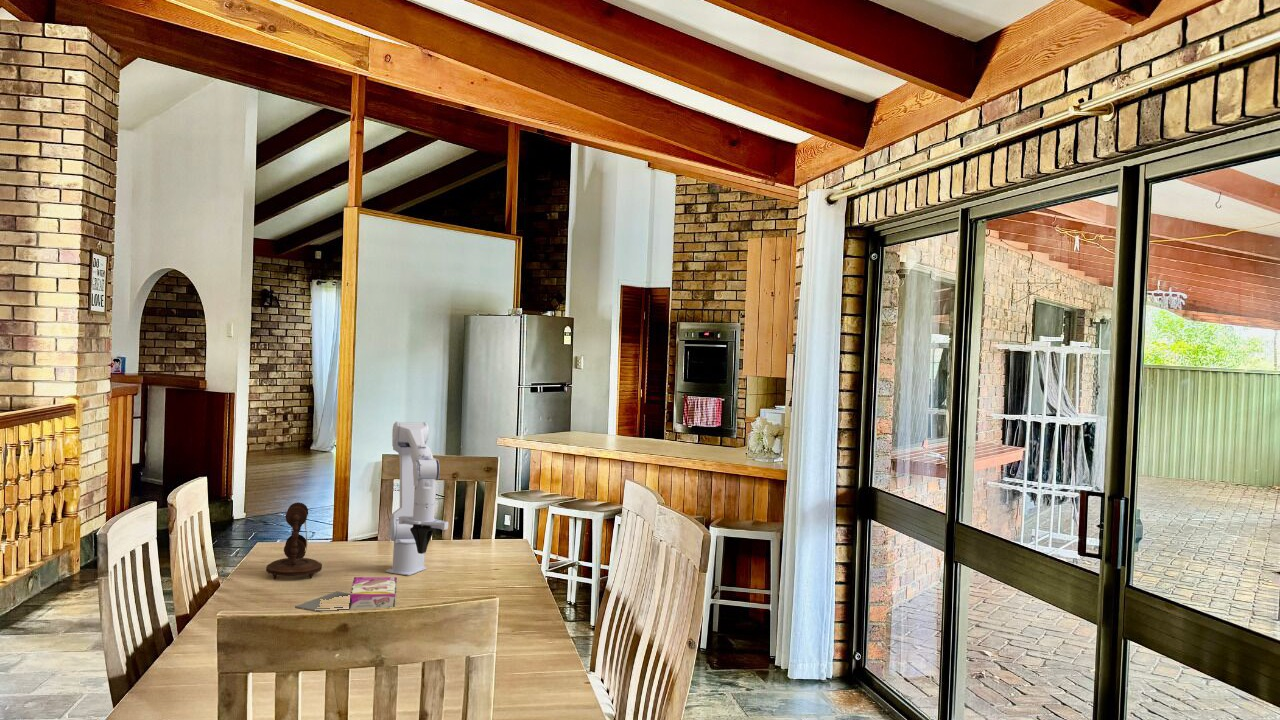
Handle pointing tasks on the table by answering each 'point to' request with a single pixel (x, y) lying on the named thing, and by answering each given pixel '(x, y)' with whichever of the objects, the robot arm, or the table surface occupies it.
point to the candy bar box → (373, 592)
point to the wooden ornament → (295, 548)
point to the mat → (315, 603)
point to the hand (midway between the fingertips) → (421, 552)
